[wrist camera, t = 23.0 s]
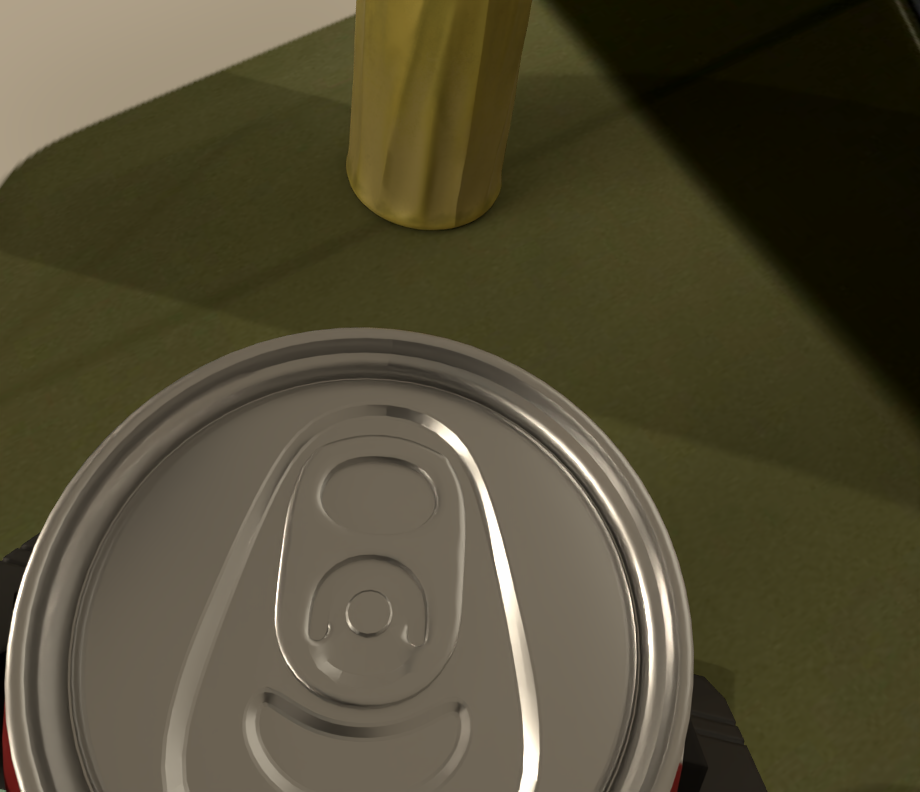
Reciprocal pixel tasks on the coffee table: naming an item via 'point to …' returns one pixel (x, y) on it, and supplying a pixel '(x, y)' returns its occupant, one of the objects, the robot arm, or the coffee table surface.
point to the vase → (433, 106)
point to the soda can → (351, 589)
